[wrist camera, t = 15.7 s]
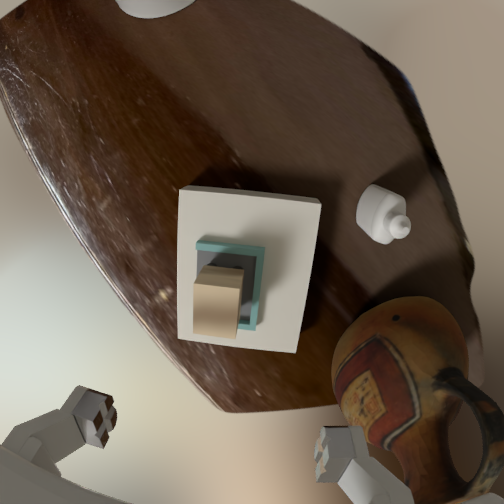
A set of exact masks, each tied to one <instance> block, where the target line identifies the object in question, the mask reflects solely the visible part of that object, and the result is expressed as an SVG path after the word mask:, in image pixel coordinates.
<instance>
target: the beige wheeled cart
mask: <svg viewBox="0 0 504 504" xmlns="http://www.w3.org/2000/svg"><path fill="white" fill-rule="evenodd" d="M243 278H244V270H243V268H242V267H240V266H234V267H233V268H225V267H218V266H217V265H216V264H215V263H209V264H207V265H204V266H203V267H202V269H201V271H200V273H199V274H198V276H197V278H196V280H195V282H194V286H193V333H194V334H200V335H207V336H214V337H222V338H229V339H236V334H237V329H238V324H239V319H240V311H241V300H242V289H243Z"/></svg>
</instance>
